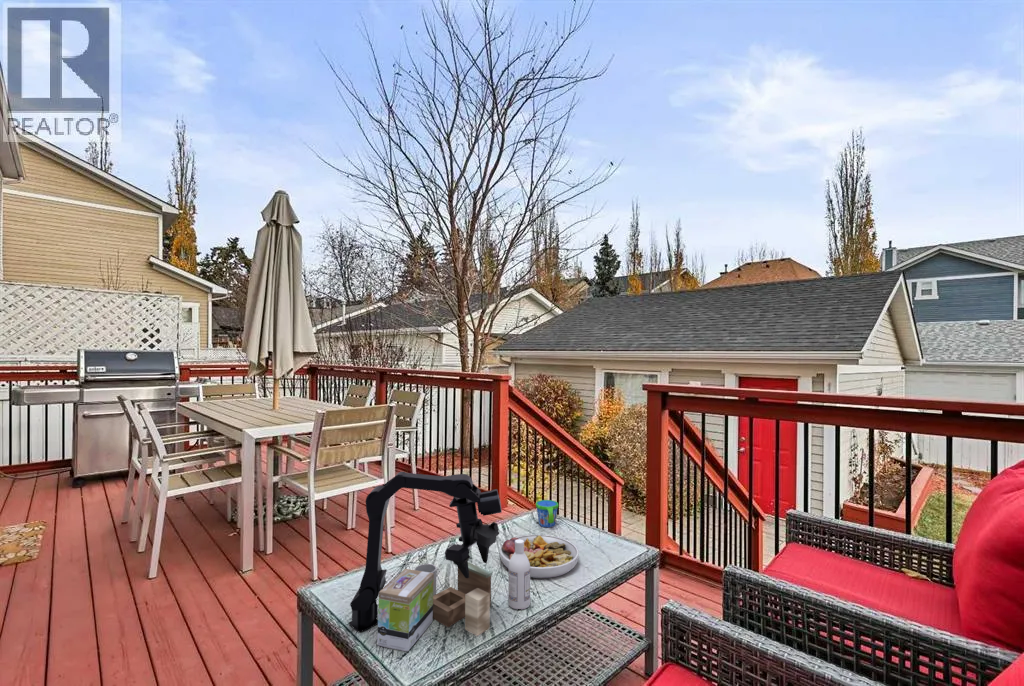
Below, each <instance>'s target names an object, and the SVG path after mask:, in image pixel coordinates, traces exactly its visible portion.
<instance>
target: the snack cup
mask: <svg viewBox="0 0 1024 686" xmlns="http://www.w3.org/2000/svg"><path fill="white" fill-rule="evenodd" d="M535 508H536V513H537V519H538V520H537V521H538V524H539V525H540V527H543V528H552V527H555V526H556V523H557V522H556V520H557V516H558V515H557V514H558V508H559V502H557V501H556V500H551V499H541V500H538V501H536V502H535Z"/></svg>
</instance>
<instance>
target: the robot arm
mask: <svg viewBox="0 0 1024 686" xmlns="http://www.w3.org/2000/svg"><path fill="white" fill-rule="evenodd" d="M401 489H412V490H421V491H431V492H439V493H443V494H445V495H448V496H450V497H453V498H452V499H451V501H449V507H450V508H453V507H455V508H456V513H457V519H458V523H456V528H459V531H460V536H459V537H458V541H459V542H460V543H461V542H462V544H456V543H454V544H452V545H450V546H449V547H448V548H447V549H446V550H445V551H444V555H445V556H444V557H445V561H446V560H447V561H450V562H453V563H455V564H456V565H455V564H454V565H455V566H456V567H457V569H458V568H459V569H460V571H461V572H462V574H463V575H464V577H465V578H469V568H468V562H469V560H470V559H471V555H470V548H472V546H474V545H477V548H478V552H479V555H480V558H481V559H482V562H483V563H484V564H488V561H489V560H488V558H489V551H490V547H491V546H492V545H493V544H495V543H496V542H497V536H499V535H500V532H499V531H500V529H499V525H498V522H497V523H496V522H495V521H493V522H492V523H490V524H486V523H483V520H482V518H479V516H478V513H479V514H480V515H482V516H483V517H485V516H491V515H497V514H500V513H502V512H503V511H502V503H501V498H500V495H499V492H498V488H496V489H491V490H488V491H483V492H482V491H481V489H480V488H479V487H478V486H477V485H475V484H474V481H473V479H472V478H471V476H470V475H469V474H466V473H460V474H459V473H458V474H452V475H451V474H450V475H446V476H444V475H443V476H440V475H432V474H423V473H422V474H421V473H411V472H405V471H399V472H397V474H396V475H395V476H393V477H392V478H391V479H389V480H387V482H385V483H384V484H383V485H377V486H375V487H374V488H373V489H372V490H371V491H370V492H369V493H368V495H367V496H366V497H365V509H366V510H365V511H366V515H367V519H368V531H367V546H366V555H365V556H366V559H365V568H364V572H363V575H362V579H361V581H360V585H359V588H358V589H357V591H356V593H355V595H354V597H353V598H352V600H351V602H350V603H349V606H350V608H351V621H349V622H348V625H349V624H350V625H351V626H350V625H349V626H350V627H351V628H353V627H354V628H355V629H354V628H353V629H354V630H356V631H357V632H358V631H359V632H358V633H362V632H366V631H367V630H369V629H371V628H372V627H374V626H376V625H377V626H378V607H379V603H378V604H377V602H378V601H377V599H378V598H379V592H380V591H381V590H382V589H383V588H384V587H385V586H386V583H387V580H386V575H387V569H382V564H381V562H382V553H383V552H382V550H383V537H384V523H385V517H386V514H387V510H388V507H389V503H390V499H391V497H393V496H394V495H395V494H396V493H397V492H398V491H399V490H401ZM476 505H477V506H476Z"/></svg>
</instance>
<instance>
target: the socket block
mask: <svg viewBox="0 0 1024 686" xmlns="http://www.w3.org/2000/svg"><path fill="white" fill-rule="evenodd" d="M453 565H455V566H457V565H456V564H455V563H454V562H453ZM468 568H469V578H465V577H464V575H463V574H462V572H461V571H460V569H459V568H458V567H457V589H456V588H454V587H452V586H450V587H447V588H446V589H443V590H442V591H440V592H437V593H436V595H434V596H433V620H434V621H435V622H438V623H440V624H441V625H443V626H445V627H447V628H449V627H450V628H451V626H453V625H455V624H457V623H458V622H460V621H462V620H464V619H465V594H467V593H469V592H471V591H473V590H475V589H476V588H479V589H481V590H483V591H485V592H487V593H490V608H491V607H492V576H493V572H492V571H490V570H488V569H485V568H482V567H480V566H478V565H476V564H474V563H471V562H469V561H468Z"/></svg>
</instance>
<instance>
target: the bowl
mask: <svg viewBox="0 0 1024 686" xmlns="http://www.w3.org/2000/svg"><path fill="white" fill-rule="evenodd" d="M518 539H521V540H523V541H524V553H525V555H526V556H527V558H528V560H529V563H530V578H534V579H549V578H550V579H551V578H555V577H559V576H562V575H565V574H567V573H569V572H570V571H572V570H573V568H575V566H577V563H578V561H579V550H578V547H577V546H576V545H575V544H574V543H573V542H571V541H569V540H567V539H565V538H562V537H558V536H555V535H548V534H526V535H520V536H516V537H511V538H510V539H507V540H505V541H504V542H503V544H502V545H501V546H500V549H499V556H500V559H501V562H502V563H503V565H504V566H505V567H506V568H507V570H509V562H510V559H511V557H512V556H513V554H514V553H515V540H518Z"/></svg>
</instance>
